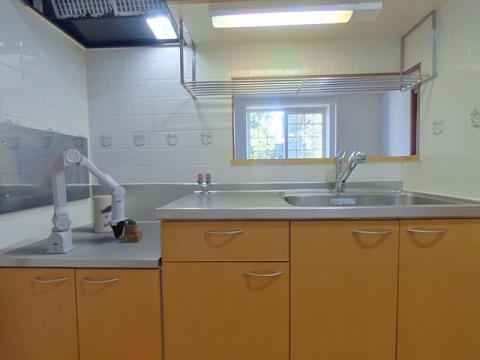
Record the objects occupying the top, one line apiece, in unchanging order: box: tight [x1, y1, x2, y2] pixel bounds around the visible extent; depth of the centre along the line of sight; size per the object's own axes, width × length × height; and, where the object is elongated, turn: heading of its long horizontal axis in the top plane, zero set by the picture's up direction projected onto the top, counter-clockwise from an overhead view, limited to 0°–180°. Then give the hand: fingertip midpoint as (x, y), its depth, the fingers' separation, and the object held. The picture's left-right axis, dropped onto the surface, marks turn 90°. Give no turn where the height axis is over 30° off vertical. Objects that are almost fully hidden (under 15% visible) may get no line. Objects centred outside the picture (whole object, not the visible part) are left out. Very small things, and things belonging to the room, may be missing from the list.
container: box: [92, 194, 113, 234], centre depth 149 cm, size 10×10×20 cm
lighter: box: [123, 218, 139, 236], centre depth 132 cm, size 8×3×10 cm, turn 69°
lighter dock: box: [121, 230, 144, 244], centre depth 131 cm, size 10×8×3 cm
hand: (118, 236), depth 130 cm, fingers open, 3 cm apart
